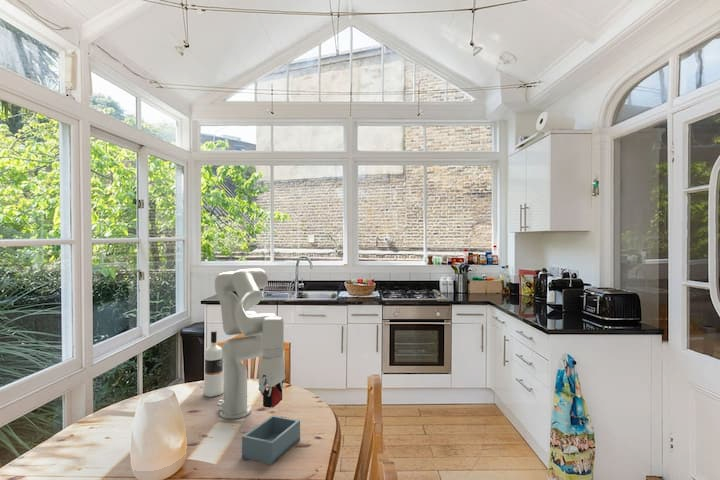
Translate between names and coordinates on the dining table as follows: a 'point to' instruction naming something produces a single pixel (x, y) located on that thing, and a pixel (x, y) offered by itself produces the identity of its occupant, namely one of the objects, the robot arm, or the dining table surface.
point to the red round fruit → (275, 396)
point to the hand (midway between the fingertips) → (272, 402)
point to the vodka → (213, 368)
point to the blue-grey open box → (270, 439)
